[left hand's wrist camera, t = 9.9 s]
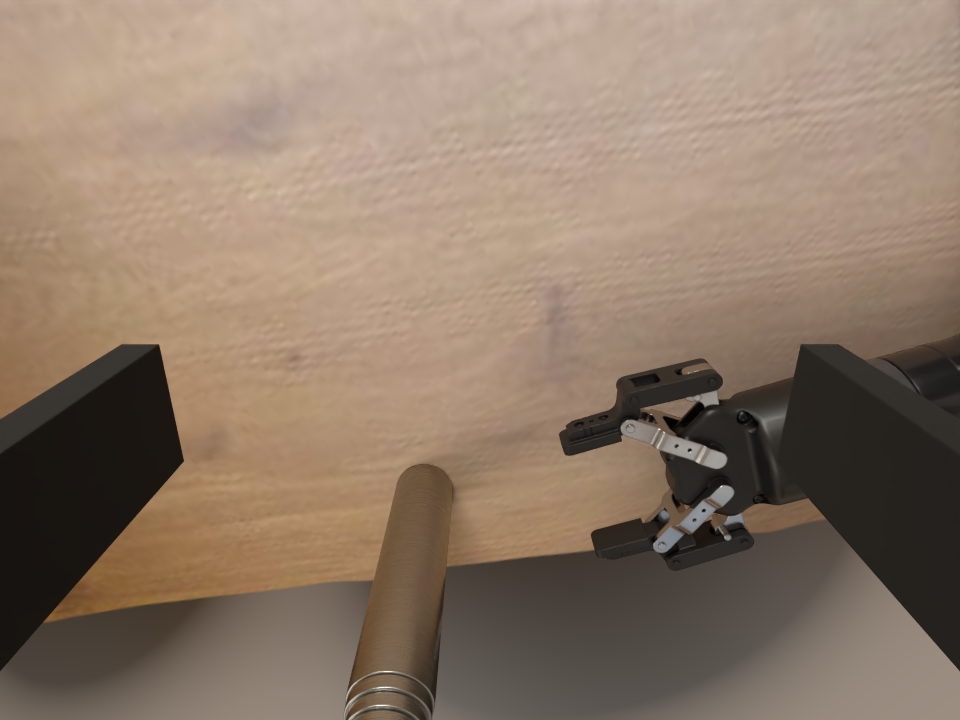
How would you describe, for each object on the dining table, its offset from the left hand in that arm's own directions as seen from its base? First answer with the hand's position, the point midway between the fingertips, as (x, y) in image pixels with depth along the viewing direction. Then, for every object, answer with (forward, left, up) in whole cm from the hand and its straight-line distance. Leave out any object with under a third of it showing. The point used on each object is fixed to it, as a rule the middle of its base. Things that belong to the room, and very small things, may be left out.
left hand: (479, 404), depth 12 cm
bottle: (-4, -21, -29) cm, 36 cm away
